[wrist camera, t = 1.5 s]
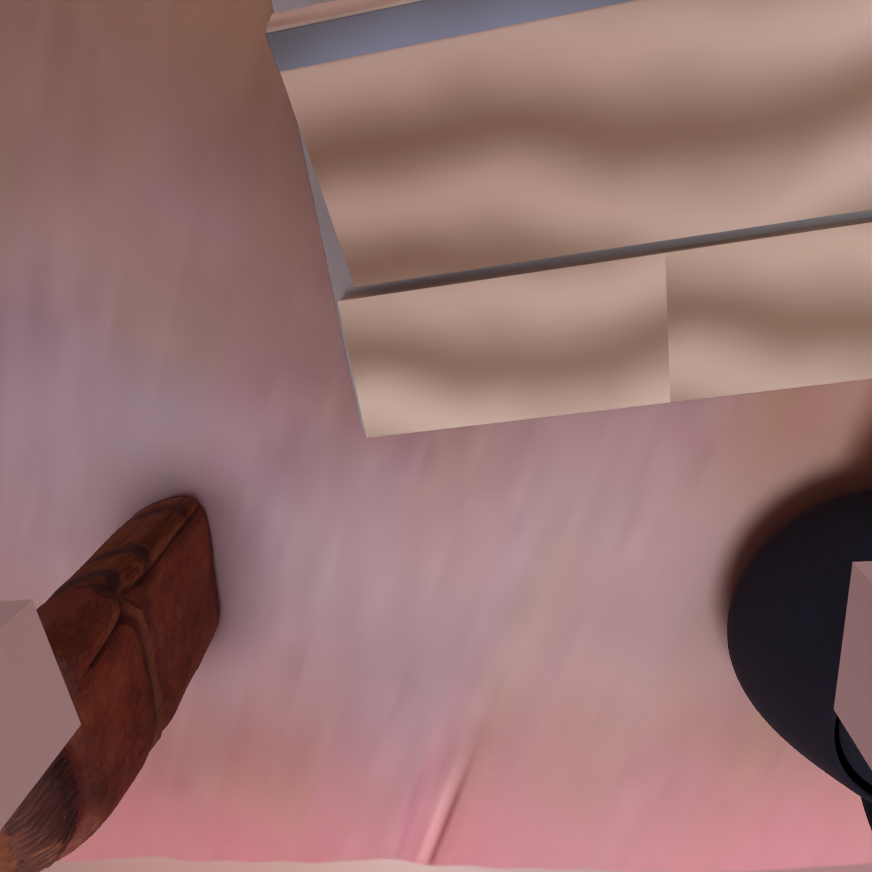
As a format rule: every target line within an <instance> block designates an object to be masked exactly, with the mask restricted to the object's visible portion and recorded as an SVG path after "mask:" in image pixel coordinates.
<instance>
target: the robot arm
mask: <svg viewBox="0 0 872 872" xmlns="http://www.w3.org/2000/svg"><path fill="white" fill-rule="evenodd" d="M834 711H835V712H836V714H837V715H838V717H839V719H840V720H841V722H842V723H843V725H844V727H845V728H846V730H847V731H848V733H849V735H850V736H851V738H852V739H853V741H854V743H855V744H856V746H857V747H858V749H859V751H860V752H861V754H862V755H863V757H864V759H865V760H866V762H867V764H868V765H869V767H870V768H871V770H872V561H863V562H853V563H852V571H851V579H850V587H849V595H848V602H847V610H846V618H845V626H844V633H843V641H842V649H841V657H840V665H839V672H838V680H837V688H836V696H835V703H834ZM80 725H81V723H80V720H79V718H78V715H77V712H76V710H75V707H74V705H73V702H72V700H71V697H70V695H69V692H68V690H67V687H66V684H65V682H64V679H63V677H62V674H61V672H60V669H59V667H58V664H57V662H56V659H55V656H54V654H53V651H52V649H51V646H50V644H49V641H48V639H47V636H46V634H45V631H44V628H43V626H42V623H41V621H40V618H39V616H38V613H37V611H36V608H35V606H34V603H33V600H15V601H0V830H1V829H2V828H3V826H4V825H5V824H6V822H7V821H8V820H9V818H10V817H11V816H12V815H13V813H14V812H15V811H16V809H17V808H18V807H19V805H20V804H21V803H22V801H23V800H24V799H25V797H26V796H27V795H28V794H29V792H30V791H31V790H32V788H33V787H34V786H35V784H36V783H37V782H38V780H39V779H40V778H41V776H42V775H43V774H44V773H45V771H46V770H47V769H48V767H49V766H50V765H51V763H52V762H53V761H54V759H55V758H56V757H57V755H58V754H59V753H60V752H61V750H62V749H63V748H64V746H65V745H66V744H67V742H68V741H69V740H70V738H71V737H72V736H73V735H74V733H75V732H76V731H77V729H78V728H79V727H80Z"/></svg>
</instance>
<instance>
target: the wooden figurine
mask: <svg viewBox="0 0 872 872" xmlns="http://www.w3.org/2000/svg"><path fill="white" fill-rule="evenodd" d="M36 611H37V613H38V616H39V618H40V621H41V623H42V626H43V628H44V631H45V634H46V636H47V639H48V641H49V644H50V646H51V649H52V651H53V654H54V656H55V659H56V662H57V664H58V667H59V669H60V672H61V674H62V677H63V679H64V682H65V684H66V687H67V690H68V692H69V695H70V697H71V700H72V702H73V705H74V707H75V710H76V712H77V715H78V718H79V720H80V723H81V725H80V727H79V728H78V729H77V731H76V732H75V733H74V735H73V736H72V737H71V738H70V740H69V741H68V742H67V744H66V745H65V746H64V748H63V749H62V750H61V752H60V753H59V754H58V755H57V757H56V758H55V759H54V761H53V762H52V763H51V765H50V766H49V767H48V769H47V770H46V771H45V773H44V774H43V775H42V776H41V778H40V779H39V780H38V782H37V783H36V784H35V786H34V787H33V788H32V790H31V791H30V792H29V794H28V795H27V796H26V797H25V799H24V800H23V801H22V803H21V804H20V805H19V807H18V808H17V809H16V811H15V812H14V813H13V815H12V816H11V817H10V818H9V820H8V821H7V822H6V824H5V825H4V826H3V828H2V829H1V830H0V872H40V871H41V870H43V869H45V868H48V867H50V866H51V865H52V864H53V863H54V862H55V861H58V860H60V859H61V858H63V857H64V856H66V855H68V854H69V853H71V852H72V851H74V850H75V849H76V848H77V847H79V846H80V845H81V844H82V843H84V842H85V841H86V840H87V839H88V838H89V837H91V836H92V835H93V834H94V833H95V832H96V830H97V829H98V828H99V827H100V826H101V825H102V823H103V822H104V821H105V820H106V819H107V818H108V817H109V815H110V814H111V813H112V812H113V810H114V809H115V808H116V806H117V805H118V803H119V802H120V800H121V799H122V797H123V796H124V794H125V793H126V791H127V790H128V788H129V787H130V785H131V784H132V782H133V781H134V779H135V778H136V776H137V775H138V773H139V771H140V770H141V768H142V767H143V765H144V763H145V761H146V758H147V756H148V753H149V752H150V750H151V749H152V748H153V747H154V745H155V744H156V742H157V741H158V740H159V739H160V737H161V734H162V731H163V730H164V729H165V727H166V726H167V725H168V724H169V722H170V721H171V719H172V718H173V716H174V714H175V712H176V710H177V708H178V706H179V704H180V701H181V699H182V697H183V695H184V693H185V691H186V688H187V686H188V684H189V683H190V681H191V679H192V677H193V675H194V673H195V672H196V670H197V669H198V667H199V665H200V663H201V661H202V659H203V657H204V654H205V652H206V650H207V648H208V646H209V644H210V642H211V640H212V638H213V636H214V633H215V630H216V627H217V623H218V605H217V596H216V589H215V584H214V575H213V569H212V554H211V545H210V537H209V530H208V526H207V519H206V515H205V512H204V511H203V509H202V508H201V507H200V506H199V505H198V504H197V502H195V501H194V500H193V499H190V498H186V497H175V498H170V499H167V500H164V501H161V502H158V503H155V504H152V505H150V506H148V507H146V508H144V509H143V510H141V511H140V512H138V513H137V514H135V515H134V516H133V517H132V518H131V519H130V520H129V521H127V522H126V523H125V524H124V525H123V526H122V527H120V528H119V529H118V530H117V531H116V532H115V533H114V534H113V535H112V536H111V537H110V538H109V539H108V540H107V541H106V542H105V543H104V544H103V545H102V546H101V547H100V548H99V549H98V550H97V551H96V552H95V553H94V554H93V555H92V556H91V557H90V558H89V560H88V561H87V562H86V563H85V564H84V565H83V566H82V567H81V568H80V569H79V570H78V571H77V572H76V573H75V574H74V575H73V576H72V577H71V578H70V579H68V580H67V581H66V582H65V583H64V584H63V585H62V586H61V587H59V588H58V589H57V590H56V591H55V592H54V594H53V595H52V596H51V597H50V598H49V599H48V600H47V601H46V602H45V603H44V604H43V605H41V606H40V607H39V608H38V609H37V610H36Z"/></svg>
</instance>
